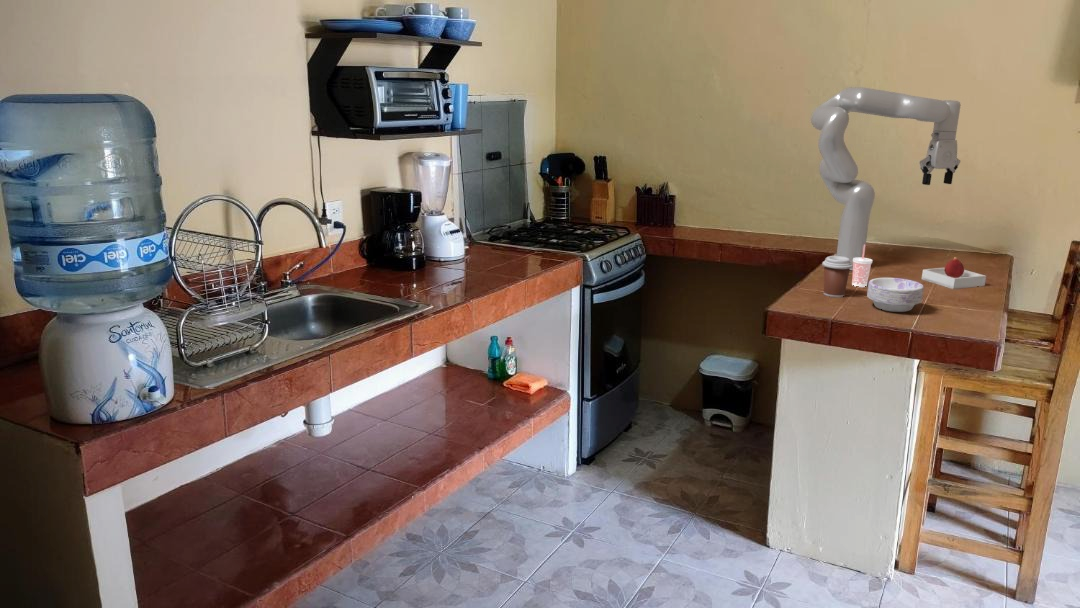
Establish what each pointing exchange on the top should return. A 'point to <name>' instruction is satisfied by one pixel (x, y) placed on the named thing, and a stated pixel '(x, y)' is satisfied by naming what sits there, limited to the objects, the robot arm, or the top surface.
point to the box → (963, 281)
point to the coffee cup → (836, 275)
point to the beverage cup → (861, 270)
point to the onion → (954, 268)
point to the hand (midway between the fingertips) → (936, 184)
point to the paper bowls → (895, 293)
